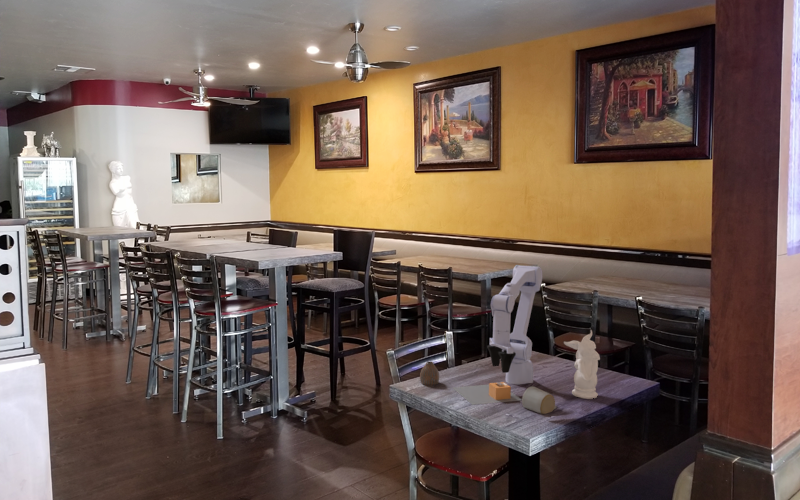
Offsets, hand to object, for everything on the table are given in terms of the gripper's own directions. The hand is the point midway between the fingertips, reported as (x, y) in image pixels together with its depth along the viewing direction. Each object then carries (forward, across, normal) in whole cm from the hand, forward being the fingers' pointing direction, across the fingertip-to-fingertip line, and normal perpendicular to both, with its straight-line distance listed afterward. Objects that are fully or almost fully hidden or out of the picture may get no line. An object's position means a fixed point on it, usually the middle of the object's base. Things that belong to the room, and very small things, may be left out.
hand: (500, 369), depth 211 cm
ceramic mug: (+10, +17, +6) cm, 21 cm away
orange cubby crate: (+8, +4, -2) cm, 9 cm away
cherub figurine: (+10, +5, +28) cm, 30 cm away
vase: (+10, -16, -20) cm, 27 cm away
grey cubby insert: (+8, +4, -2) cm, 9 cm away
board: (+9, 0, -5) cm, 11 cm away
